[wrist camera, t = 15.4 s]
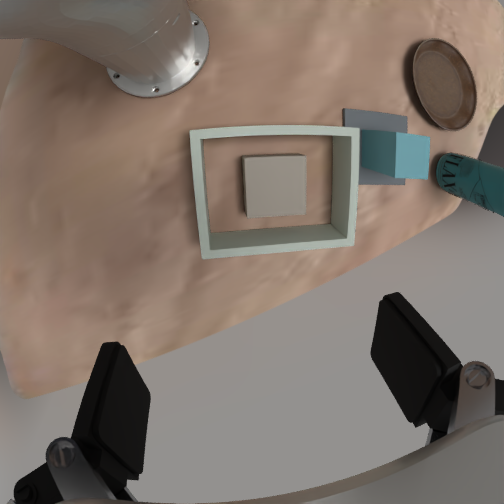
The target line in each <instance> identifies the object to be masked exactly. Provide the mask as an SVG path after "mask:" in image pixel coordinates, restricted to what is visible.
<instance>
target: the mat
mask: <svg viewBox="0 0 504 504" xmlns="http://www.w3.org/2000/svg"><path fill="white" fill-rule="evenodd" d="M343 127H352V128H359V129H360V141H359V181H358V185H405V178H394V177H391V176H388V175H385V174H382V173H379V172H376V171H373V170H370V169H367V168H364V167H362V129H365V130H378V131H389V132H399V133H406V134H407V116H401V115H395V114H388V113H381V112H373V111H365V110H355V109H343Z"/></svg>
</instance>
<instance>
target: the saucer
mask: <svg viewBox="0 0 504 504" xmlns="http://www.w3.org/2000/svg"><path fill="white" fill-rule="evenodd" d="M412 75H413V82H414V87H415V90H416V93H417V96H418V98H419V100H420V102H421V104H422V106H423V108H424V109H425V111H426V112H427V113H428V115H429V116H430V117H431V118H432V119H433V121H435V122H436V123H437V124H438V125H439V126H441V127H442V128H444V129H447V130H450V131H458V130H461V129H463V128H465V127H466V126H467V125H468V124H469V123H470V122H471V120H472V118H473V116H474V113H475V110H476V104H477V90H476V84H475V80H474V77H473V74H472V71H471V69H470V67H469V65H468V63H467V61H466V60H465V58H464V57H463V56H462V54H461V53H460V52H459V51H458V50H457V49H456V48H455V47H454V46H453V45H451V44H450V43H448V42H446V41H444V40H442V39H437V38H432V39H427V40H425V41H424V42H422V43H421V44H420V45H419V47H418V48H417V50H416V53H415V56H414V59H413V66H412Z"/></svg>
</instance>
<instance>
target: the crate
mask: <svg viewBox="0 0 504 504" xmlns="http://www.w3.org/2000/svg"><path fill="white" fill-rule="evenodd" d="M254 135H333V173H332V207H331V224H320V225H306V226H292V227H279V228H266V229H253V230H241V231H229V232H218V233H211V232H210V222H209V211H208V200H207V188H206V176H205V163H204V150H203V139H208V138H220V137H234V136H254ZM359 141H360V129H359V128H352V127H336V126H311V125H265V126H239V127H223V128H210V129H199V130H190V144H191V157H192V169H193V181H194V191H195V202H196V211H197V221H198V230H199V238H200V247H201V255H202V259H212V258H224V257H235V256H246V255H257V254H268V253H279V252H290V251H301V250H312V249H323V248H334V247H345V246H354V239H355V228H356V215H357V200H358V181H359ZM242 166H243V186H244V205H245V213H246V216H247V218H259V217H273V216H287V215H303V214H306V156H305V155H302V154H263V155H243V156H242Z"/></svg>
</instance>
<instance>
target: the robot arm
mask: <svg viewBox="0 0 504 504" xmlns="http://www.w3.org/2000/svg"><path fill="white" fill-rule="evenodd" d="M194 24H198V25H197V26H194ZM21 38H33V39H42V40H47V41H51V42H54V43H57V44H60V45H62V46H65V47H67V48H69V49H72V50H74V51H76V52H77V53H79V54H82V55H84V56H86V57H88V58H90V59H92V60H94V61H96V62H98V63H100V64H102V65H104V66H106V69H107V72H108V75H109V77H110V78H111V80H112V81H113V83H114V84H115V85H116V86H117V87H118V88H120V89H121V90H123V91H125V92H126V93H129V94H131V95H135V96H139V97H149V98H151V97H160V96H164V95H167V94H170V93H173V92H175V91H177V90H179V89H181V88H182V87H184V86H185V85H187V84H188V83H189V82H190V81H191V80H192V79H194V78H195V77H196V75H197V74H198V73H199V72H200V70H201V69H202V67H203V65H204V63H205V62H206V59H207V56H208V52H209V35H208V32H207V28H206V27H205V25H204V23H203V21H202V20H201V19H200V18H199V17H198V16H197V15H196V14H194V13H193V12H192V11H190V10H189V7H188V2H187V0H0V39H21ZM195 63H199V65H198V66H195ZM118 75H120V77H119V78H118V79H117V76H118ZM156 89H159V91H158V92H155V90H156ZM371 358H372V360H373V361H374V363H375V365H376V367H377V368H378V370H379V372H380V373H381V375H382V377H383V378H384V380H385V382H386V384H387V385H388V387H389V389H390V390H391V392H392V394H393V396H394V397H395V399H396V401H397V403H398V404H399V406H400V408H401V409H402V411H403V413H404V415H405V417H406V418H407V420H408V421H409V422H410V423H412V422H413V424H414V426H415V427H418V426H421V425H423V424H425V423H427V424H428V426H429V427H430V429H429V433H428V437H427V441H426V445H425V447H422V448H420V449H419V450H416V451H414V452H412V453H410V454H408V455H405V456H403V457H401V458H399V459H397V460H394V461H392V462H389V463H387V464H385V465H382V466H380V467H377V468H375V469H372V470H369V471H366V472H364V473H361V474H358V475H355V476H352V477H349V478H346V479H343V480H339V481H336V482H333V483H329V484H326V485H322V486H319V487H314V488H310V489H306V490H302V491H297V492H293V493H288V494H283V495H277V496H272V497H265V498H258V499H251V500H242V501H232V502H219V503H197V504H504V380H499V379H495V377H494V373H493V371H492V369H491V368H490V367H489V366H488V365H486V364H484V363H483V362H479V361H472V362H468V363H467V364H465V365H464V366H462V364H461V361H460V360H459V359H458V358H457V357H456V355H455V354H454V353H453V352H452V351H451V349H450V348H449V347H448V346H447V345H446V343H445V342H444V341H443V340H442V339H441V338H440V337H439V335H438V334H437V333H436V332H435V331H434V330H433V329H432V327H431V326H430V325H429V324H428V323H427V322H426V321H425V320H424V318H423V317H422V316H420V314H419V313H418V312H417V311H416V310H415V309H414V308H413V306H412V305H411V304H410V303H409V302H408V301H407V300H406V299H405V298H404V297H403V296H402V295H401V294H400V293H399V292H396V293H392V294H388V295H385V296H384V297H383V300H381V301H380V302H379V308H378V315H377V320H376V326H375V332H374V337H373V342H372V347H371ZM150 400H151V398H150V392H149V390H148V388H147V386H146V385H145V383H144V381H143V379H142V378H141V376H140V374H139V372H138V371H137V369H136V367H135V365H134V363H133V361H132V359H131V357H130V355H129V354H128V352H127V350H126V348H125V346H124V345H121V344H120V343H119V342H106V343H103V344H102V346H101V348H100V351H99V354H98V356H97V359H96V362H95V365H94V367H93V370H92V373H91V376H90V379H89V381H88V384H87V386H86V390H85V393H84V396H83V399H82V402H81V405H80V408H79V412H78V415H77V419H76V422H75V425H74V429H73V433H72V436H71V438H68V437H60V438H57V439H55V440H54V441H53V442H51V443H50V445H49V446H48V448H47V451H46V463H44V464H43V465H41V466H40V467H38V468H37V469H35V470H34V471H32V472H31V473H29V474H28V475H26V476H25V477H23V478H21V479H20V480H19V481H18V482H17V483H16V485H15V488H14V498H15V500H12V499H10V500H9V502H8V503H7V504H174V503H148V502H138V501H137V500H136V498H135V497H134V496H133V495H132V493H131V492H130V491H129V489H128V488H127V487H126V485H127V479H128V480H138V479H139V474H141V473H142V472H143V464H144V453H145V442H146V433H147V424H148V415H149V408H150Z"/></svg>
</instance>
